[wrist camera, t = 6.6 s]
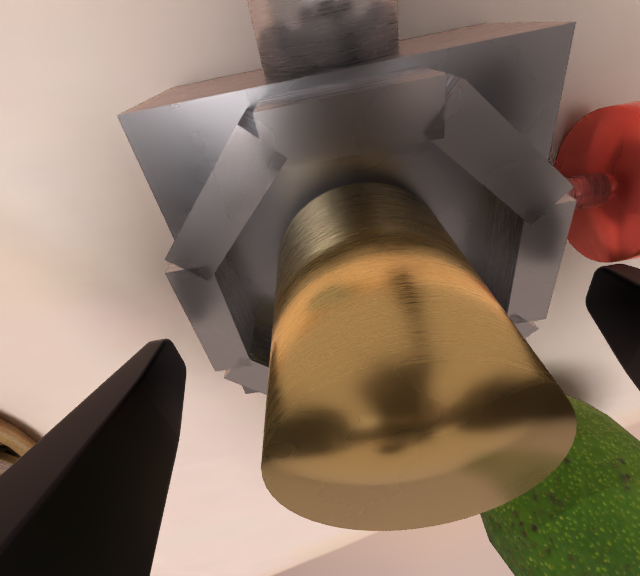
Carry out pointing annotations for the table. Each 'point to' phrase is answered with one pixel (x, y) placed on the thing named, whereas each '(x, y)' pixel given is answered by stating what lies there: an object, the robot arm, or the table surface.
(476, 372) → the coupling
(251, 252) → the valve
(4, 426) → the toy sandwich meal
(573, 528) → the avocado
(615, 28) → the table surface
